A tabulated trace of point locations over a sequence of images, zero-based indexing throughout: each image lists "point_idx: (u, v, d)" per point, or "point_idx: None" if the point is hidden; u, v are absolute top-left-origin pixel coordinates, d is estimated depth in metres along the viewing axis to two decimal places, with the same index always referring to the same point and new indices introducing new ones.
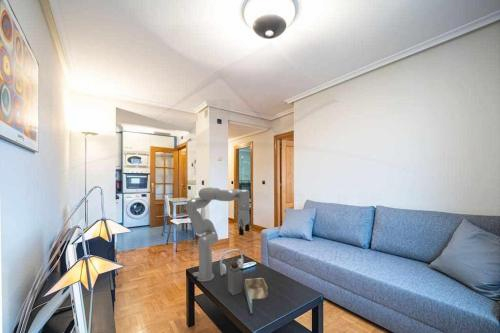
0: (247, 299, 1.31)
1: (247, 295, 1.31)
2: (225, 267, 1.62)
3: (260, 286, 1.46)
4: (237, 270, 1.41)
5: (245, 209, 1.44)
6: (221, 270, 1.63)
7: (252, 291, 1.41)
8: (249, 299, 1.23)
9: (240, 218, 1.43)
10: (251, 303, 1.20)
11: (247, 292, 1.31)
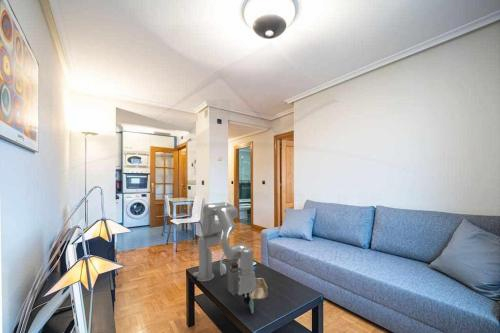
0: None
1: None
2: (225, 267, 1.63)
3: (260, 286, 1.46)
4: (237, 270, 1.41)
5: None
6: (221, 270, 1.63)
7: None
8: (250, 299, 1.23)
9: None
10: (252, 303, 1.20)
11: None
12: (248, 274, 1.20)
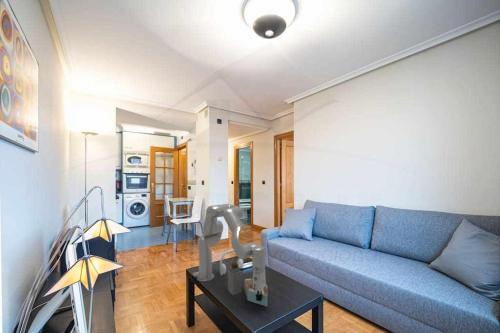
0: (248, 299, 1.31)
1: (249, 295, 1.31)
2: (225, 267, 1.63)
3: None
4: (237, 270, 1.41)
5: None
6: (221, 270, 1.63)
7: None
8: None
9: None
10: (266, 296, 1.26)
11: (249, 292, 1.31)
12: (264, 270, 1.24)
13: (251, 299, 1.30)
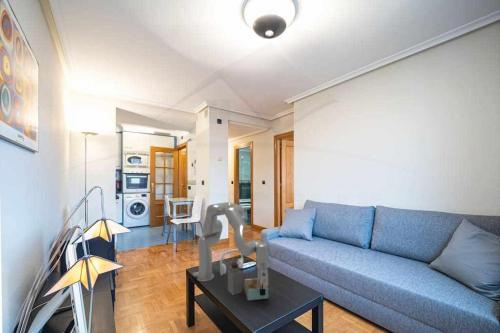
0: (249, 298, 1.31)
1: (249, 294, 1.32)
2: (225, 267, 1.63)
3: None
4: (237, 270, 1.41)
5: None
6: (221, 270, 1.63)
7: None
8: None
9: None
10: None
11: (249, 291, 1.32)
12: None
13: (252, 297, 1.32)
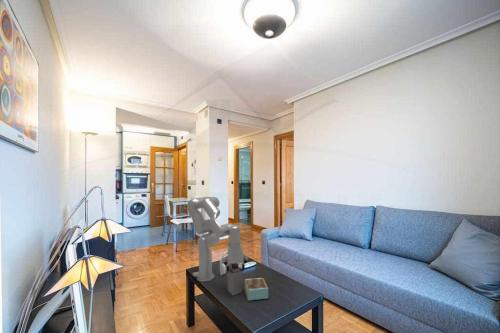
0: (249, 298, 1.31)
1: (249, 294, 1.32)
2: (225, 267, 1.63)
3: (260, 286, 1.46)
4: (237, 270, 1.41)
5: None
6: (221, 270, 1.64)
7: None
8: (262, 289, 1.33)
9: None
10: None
11: (249, 291, 1.32)
12: (234, 247, 1.39)
13: (252, 297, 1.32)
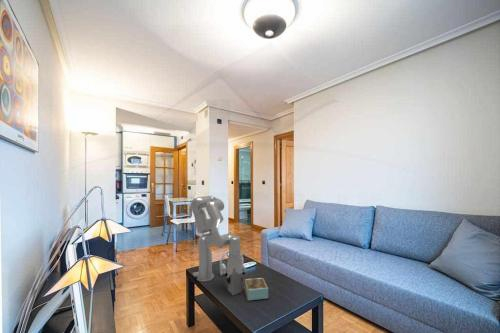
0: (249, 298, 1.31)
1: (249, 294, 1.32)
2: (225, 267, 1.63)
3: (260, 286, 1.46)
4: None
5: None
6: (221, 270, 1.64)
7: None
8: (262, 289, 1.33)
9: None
10: None
11: (249, 291, 1.32)
12: (233, 258, 1.39)
13: (252, 297, 1.32)
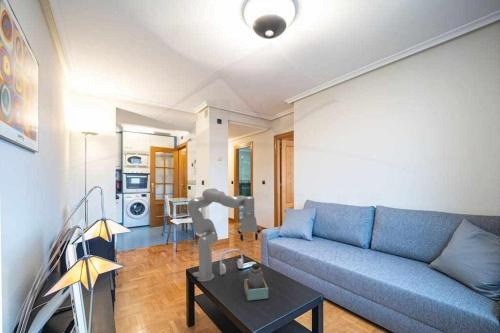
0: (249, 298, 1.31)
1: (249, 294, 1.32)
2: (225, 267, 1.63)
3: None
4: (258, 271, 1.38)
5: None
6: (221, 270, 1.64)
7: None
8: (262, 289, 1.33)
9: None
10: None
11: (249, 291, 1.32)
12: (248, 216, 1.43)
13: (252, 297, 1.32)
